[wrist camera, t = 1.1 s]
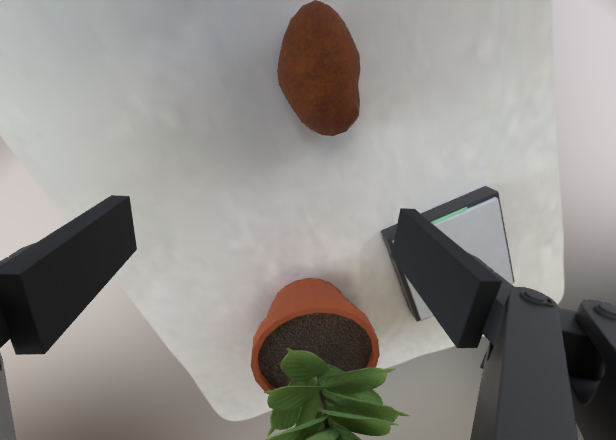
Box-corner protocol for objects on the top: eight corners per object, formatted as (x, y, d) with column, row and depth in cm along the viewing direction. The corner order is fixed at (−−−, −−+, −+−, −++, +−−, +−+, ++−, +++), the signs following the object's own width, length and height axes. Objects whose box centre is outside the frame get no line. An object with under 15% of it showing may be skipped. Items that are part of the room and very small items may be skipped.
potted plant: (382, 310, 44) (567, 679, 16) (298, 365, 46) (334, 770, 18) (322, 237, 39) (446, 599, 11) (230, 303, 41) (138, 741, 13)
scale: (380, 230, 39) (388, 241, 36) (485, 185, 38) (502, 192, 35) (410, 310, 44) (418, 324, 42) (502, 272, 43) (518, 284, 41)
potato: (299, 145, 34) (305, 158, 27) (259, 30, 30) (254, 8, 22) (364, 121, 34) (389, 128, 26) (334, 1, 29) (354, -30, 22)
